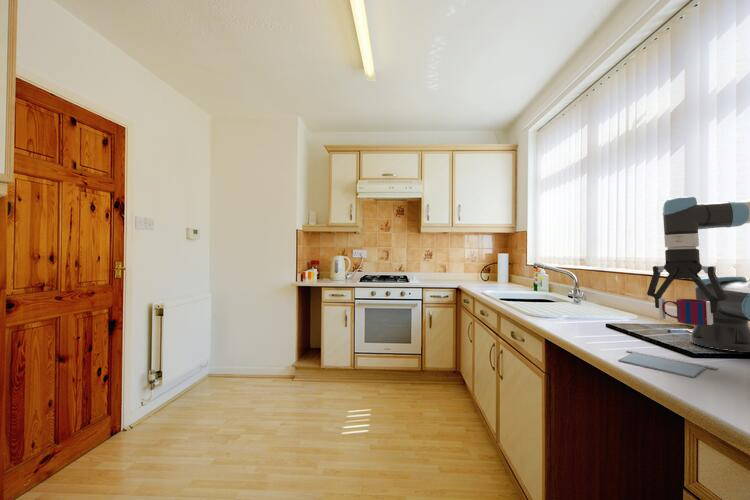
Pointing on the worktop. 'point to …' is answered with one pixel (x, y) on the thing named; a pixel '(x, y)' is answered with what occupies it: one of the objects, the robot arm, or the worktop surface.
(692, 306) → the mug
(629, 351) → the line strip
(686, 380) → the worktop surface
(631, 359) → the mat
